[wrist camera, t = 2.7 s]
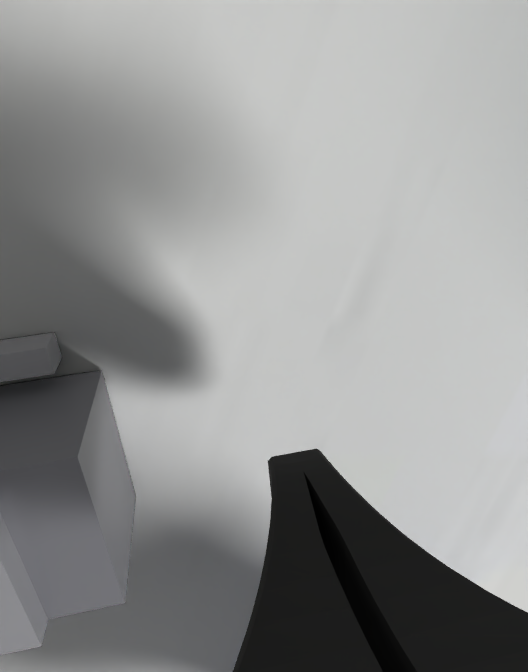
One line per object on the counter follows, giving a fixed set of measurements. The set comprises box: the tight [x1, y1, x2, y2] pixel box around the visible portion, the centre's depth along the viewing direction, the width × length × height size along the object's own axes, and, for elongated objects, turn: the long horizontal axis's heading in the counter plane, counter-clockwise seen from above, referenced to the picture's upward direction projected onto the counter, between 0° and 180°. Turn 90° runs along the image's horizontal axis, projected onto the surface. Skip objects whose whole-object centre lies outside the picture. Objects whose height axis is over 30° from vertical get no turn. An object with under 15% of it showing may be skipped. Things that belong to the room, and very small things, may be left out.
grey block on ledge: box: [0, 370, 136, 655], centre depth 13 cm, size 5×5×5 cm
